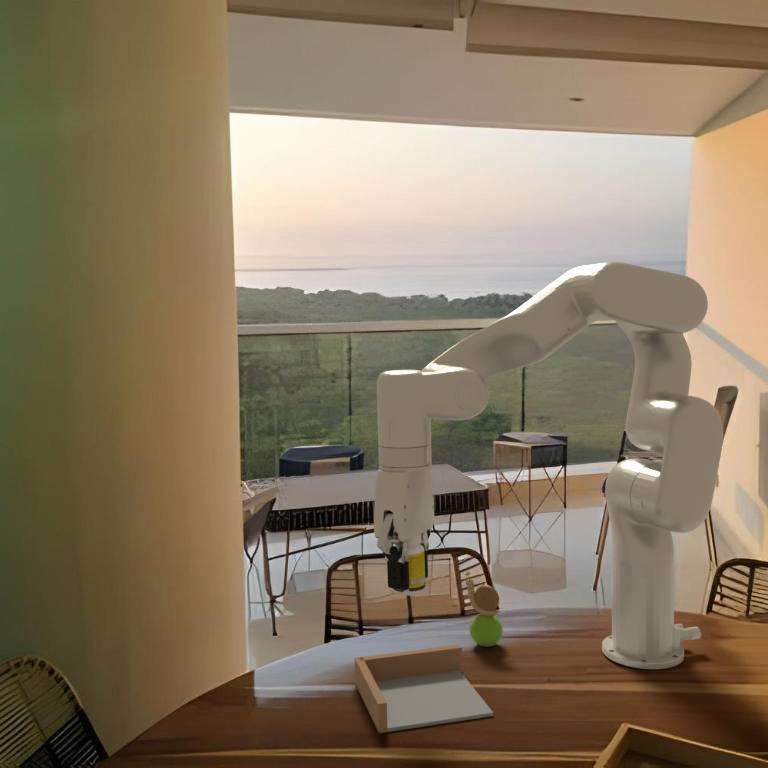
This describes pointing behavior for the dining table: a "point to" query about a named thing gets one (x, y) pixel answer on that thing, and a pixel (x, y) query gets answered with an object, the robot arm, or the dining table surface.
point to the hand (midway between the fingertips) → (408, 581)
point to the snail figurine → (484, 614)
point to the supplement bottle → (414, 566)
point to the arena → (417, 689)
